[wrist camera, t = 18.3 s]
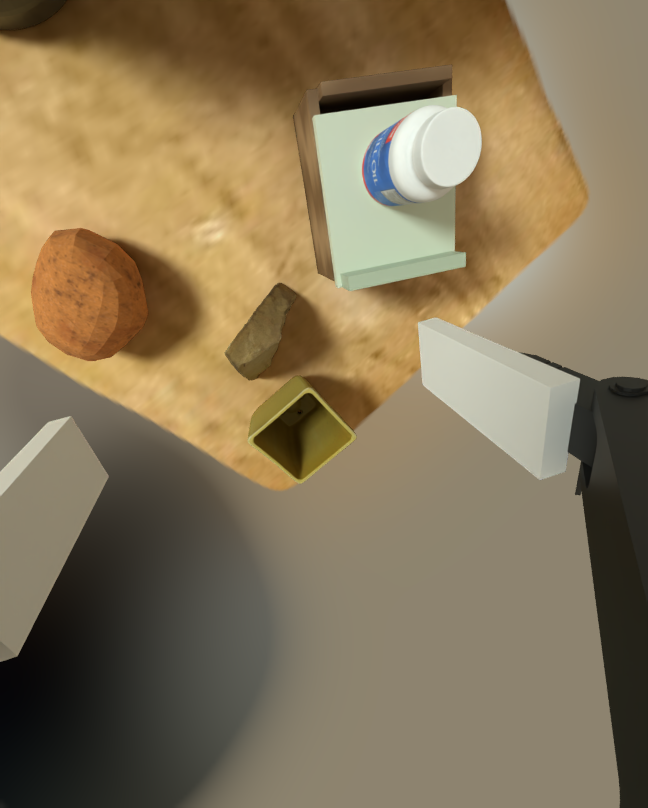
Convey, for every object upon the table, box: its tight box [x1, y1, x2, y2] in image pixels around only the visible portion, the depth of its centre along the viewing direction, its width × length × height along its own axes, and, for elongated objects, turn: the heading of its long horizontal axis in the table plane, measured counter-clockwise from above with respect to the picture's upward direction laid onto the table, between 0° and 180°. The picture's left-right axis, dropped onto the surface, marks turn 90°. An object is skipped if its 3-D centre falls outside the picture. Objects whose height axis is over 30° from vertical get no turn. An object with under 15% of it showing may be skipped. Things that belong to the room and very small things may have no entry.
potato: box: [31, 228, 148, 361], centre depth 33 cm, size 9×11×8 cm
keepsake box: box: [293, 65, 452, 281], centre depth 33 cm, size 14×12×8 cm
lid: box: [312, 95, 466, 291], centre depth 30 cm, size 13×12×3 cm
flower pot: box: [248, 376, 357, 484], centre depth 42 cm, size 9×9×9 cm
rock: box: [225, 283, 296, 380], centre depth 38 cm, size 11×9×10 cm
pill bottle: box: [361, 105, 482, 206], centre depth 25 cm, size 6×5×10 cm
